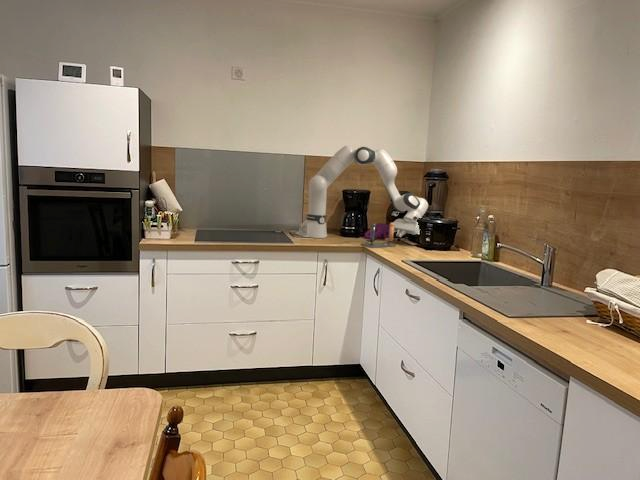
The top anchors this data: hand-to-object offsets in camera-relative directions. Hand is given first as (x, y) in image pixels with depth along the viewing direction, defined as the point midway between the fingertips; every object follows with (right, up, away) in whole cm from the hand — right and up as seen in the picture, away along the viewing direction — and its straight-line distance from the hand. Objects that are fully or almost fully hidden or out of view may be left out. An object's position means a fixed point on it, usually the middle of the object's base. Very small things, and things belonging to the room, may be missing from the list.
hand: (398, 236), depth 289 cm
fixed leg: (-18, -4, -12) cm, 22 cm away
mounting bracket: (-11, -2, +25) cm, 27 cm away
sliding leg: (-6, -3, -2) cm, 7 cm away
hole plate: (-13, -6, -8) cm, 16 cm away
